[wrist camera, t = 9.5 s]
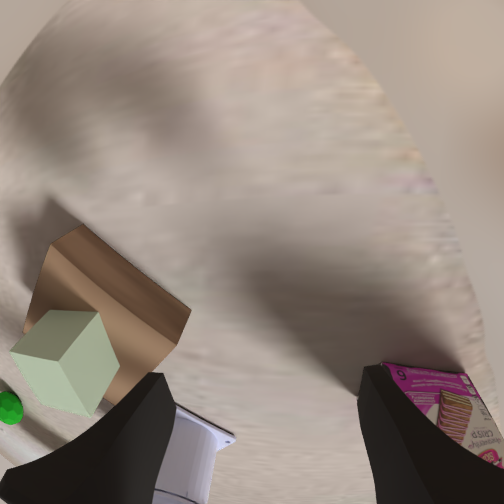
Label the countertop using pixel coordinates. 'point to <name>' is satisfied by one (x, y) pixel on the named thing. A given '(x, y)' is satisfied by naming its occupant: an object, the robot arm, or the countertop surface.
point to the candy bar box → (452, 408)
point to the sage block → (67, 360)
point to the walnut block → (110, 304)
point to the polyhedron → (10, 408)
